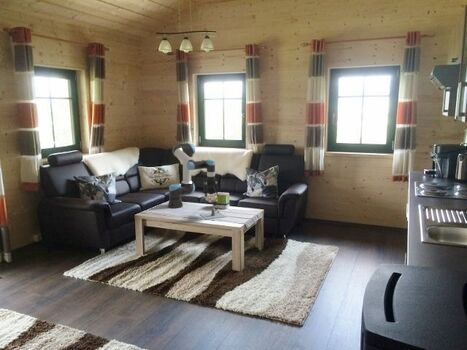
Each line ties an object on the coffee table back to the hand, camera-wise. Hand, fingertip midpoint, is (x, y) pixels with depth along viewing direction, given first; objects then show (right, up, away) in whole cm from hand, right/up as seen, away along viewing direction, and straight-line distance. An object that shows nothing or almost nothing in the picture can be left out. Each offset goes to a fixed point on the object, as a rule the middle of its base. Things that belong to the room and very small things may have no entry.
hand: (211, 200), depth 346 cm
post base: (+1, -15, +4) cm, 16 cm away
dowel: (+6, -14, +12) cm, 19 cm away
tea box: (+8, -10, +33) cm, 36 cm away
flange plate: (-1, 0, +2) cm, 2 cm away
